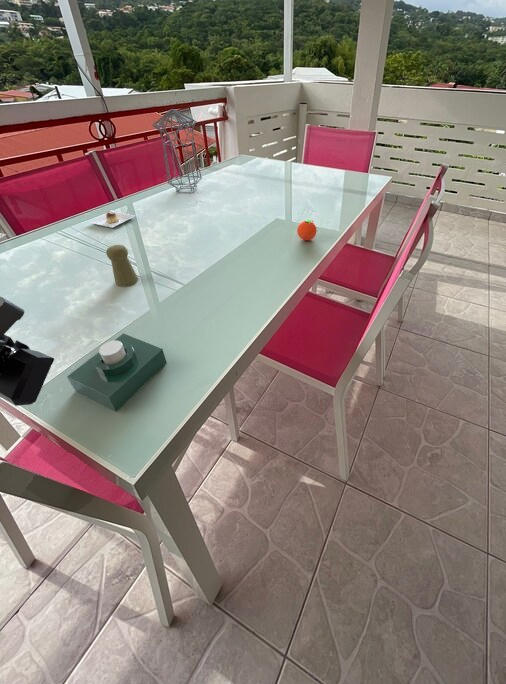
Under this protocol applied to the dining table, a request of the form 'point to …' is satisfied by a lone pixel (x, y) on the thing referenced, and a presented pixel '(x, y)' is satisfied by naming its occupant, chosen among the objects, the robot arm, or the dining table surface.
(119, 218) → the dessert
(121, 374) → the green push button box
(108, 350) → the white push button
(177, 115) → the geometric lantern
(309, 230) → the clementine
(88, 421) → the dining table surface
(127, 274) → the cork
